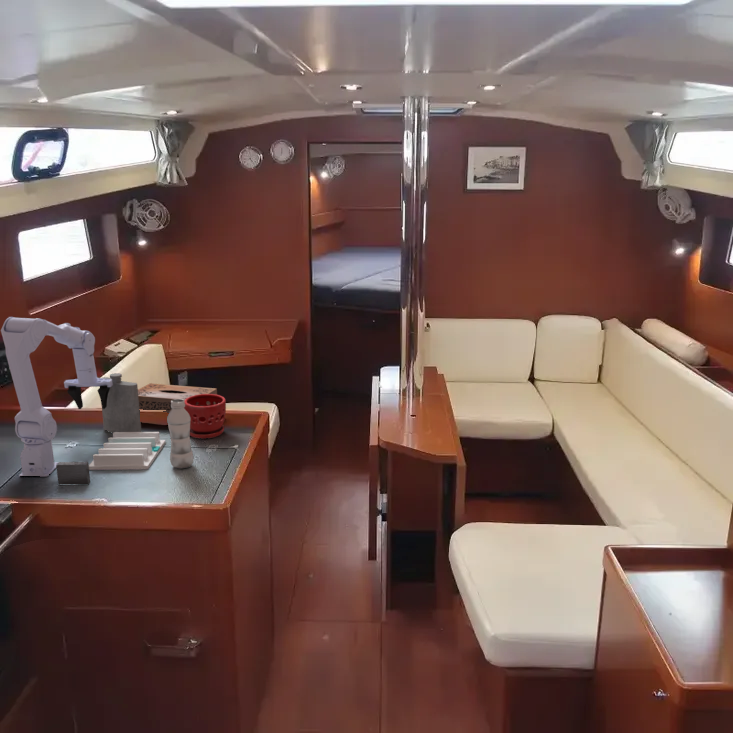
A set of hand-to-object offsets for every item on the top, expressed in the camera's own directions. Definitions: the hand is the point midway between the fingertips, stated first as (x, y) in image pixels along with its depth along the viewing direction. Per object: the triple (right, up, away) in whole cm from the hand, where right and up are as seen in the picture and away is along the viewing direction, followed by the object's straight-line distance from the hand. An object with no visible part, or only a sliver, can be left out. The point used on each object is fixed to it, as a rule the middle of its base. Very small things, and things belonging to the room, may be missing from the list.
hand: (92, 407), depth 235 cm
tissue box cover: (+21, -5, +21) cm, 30 cm away
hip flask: (+7, -9, +7) cm, 13 cm away
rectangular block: (+7, -19, -32) cm, 38 cm away
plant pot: (+35, -9, +6) cm, 37 cm away
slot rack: (+15, -14, -12) cm, 24 cm away
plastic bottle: (+33, -16, -20) cm, 42 cm away
